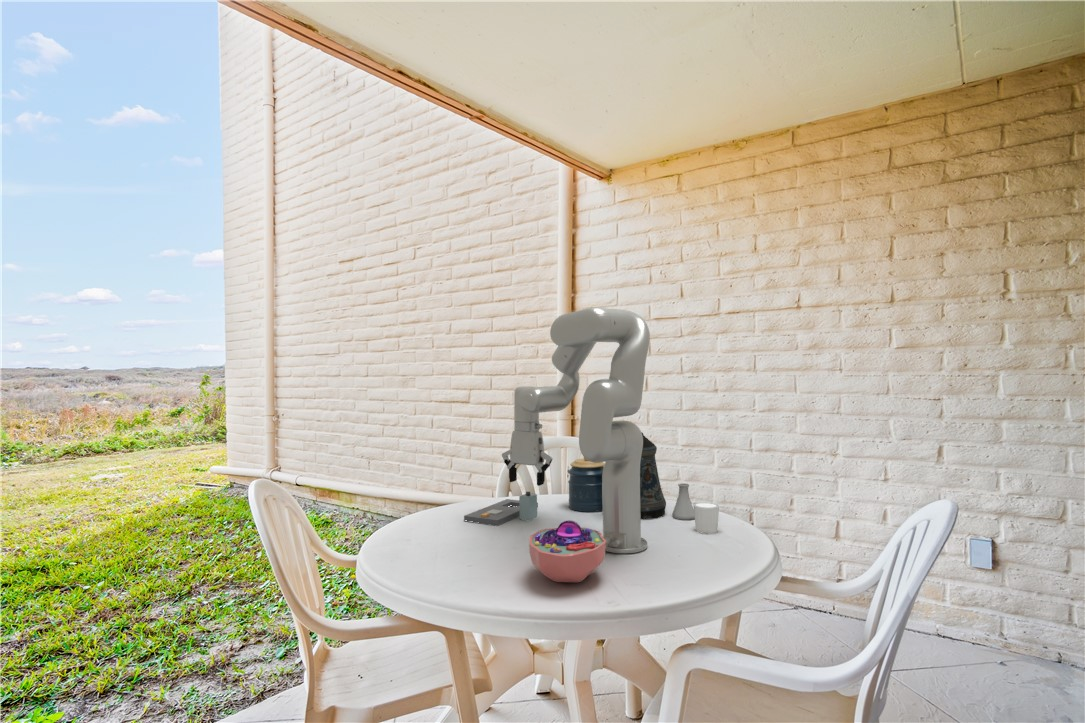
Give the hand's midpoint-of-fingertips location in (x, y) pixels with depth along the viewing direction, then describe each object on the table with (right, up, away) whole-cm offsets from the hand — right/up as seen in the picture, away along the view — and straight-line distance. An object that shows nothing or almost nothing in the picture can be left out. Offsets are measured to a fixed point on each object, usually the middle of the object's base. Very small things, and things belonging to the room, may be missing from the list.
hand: (526, 483), depth 169 cm
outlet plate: (-8, -11, +5) cm, 14 cm away
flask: (+48, -10, -3) cm, 49 cm away
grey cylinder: (+50, -10, -17) cm, 54 cm away
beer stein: (+34, -10, +2) cm, 36 cm away
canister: (+20, -11, +11) cm, 25 cm away
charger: (+1, -11, -1) cm, 11 cm away
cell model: (+10, -10, -49) cm, 51 cm away
